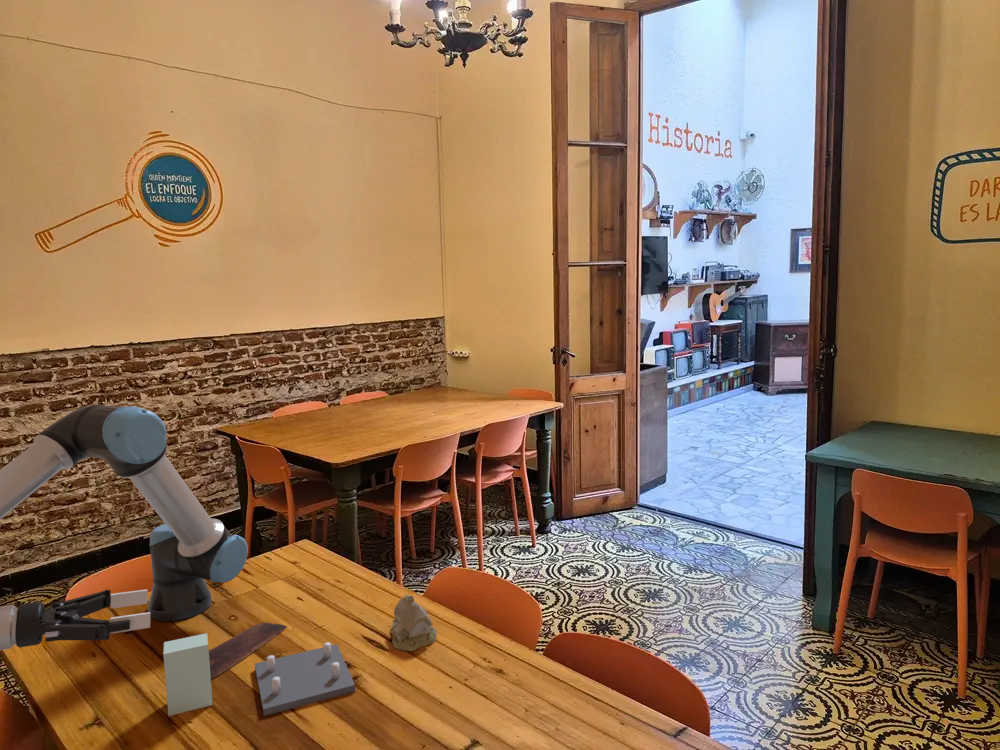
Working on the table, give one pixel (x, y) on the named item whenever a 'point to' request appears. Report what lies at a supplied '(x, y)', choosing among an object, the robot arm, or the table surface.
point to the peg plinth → (302, 678)
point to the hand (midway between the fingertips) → (149, 607)
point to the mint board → (187, 674)
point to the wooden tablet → (241, 647)
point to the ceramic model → (411, 626)
